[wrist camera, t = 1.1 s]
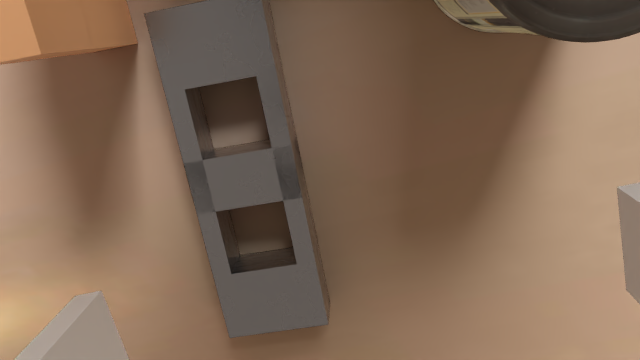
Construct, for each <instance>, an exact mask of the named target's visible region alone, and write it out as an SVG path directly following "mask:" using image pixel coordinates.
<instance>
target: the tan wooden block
mask: <svg viewBox="0 0 640 360" xmlns="http://www.w3.org/2000/svg"><path fill="white" fill-rule="evenodd" d="M133 44H138V42H137V38H136V35H135V31H134V27H133V23H132V20H131V16H130V12H129V9H128V5H127V1H126V0H0V65H1V64H8V63H16V62H24V61H31V60H37V59H45V58H52V57H60V56H68V55H76V54H83V53H91V52H97V51H102V50H107V49H112V48H118V47H123V46H128V45H133Z"/></svg>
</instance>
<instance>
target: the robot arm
mask: <svg viewBox="0 0 640 360" xmlns="http://www.w3.org/2000/svg"><path fill="white" fill-rule="evenodd" d="M617 194H618V205H619V216H620V227H621V238H622V249H623V260H624V271H625V281H626V290H627V291H628V292H629V293H630V294H631V295H632V296H633V297H634V299H635V300H636V301H637V302H638V303H639V304H640V183H635V184H630V185H625V186H620V187H617ZM14 360H129V357H128V355H127V352H126V350H125V348H124V345H123V343H122V340H121V338H120V335H119V333H118V330H117V328H116V325H115V323H114V320H113V318H112V315H111V313H110V310H109V308H108V305H107V303H106V300H105V298H104V296H103V293H102V291H97V292H92V293H87V294H82V295H77V296H74V298H73V299H72V300H71V301H70V302H69V303H68V304H67V305H66V306H65V307H64V308H63V309H62V310H61V311H60V312H59V313H58V314H57V315H56V316H55V317H54V318H53V319H52V320H51V321H50V323H49V324H48V325H47V326H46V327H45V328H44V329H43V330H42V331H41V332H40V333H39V334H38V335H37V336H36V337H35V338H34V339H33V340H32V341H31V342H30V343H29V344H28V345H27V346H26V348H25V349H24V350H23V351H22V352H21V353H20V354H19V355H18V356H17V357H16V358H15V359H14Z"/></svg>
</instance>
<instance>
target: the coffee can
mask: <svg viewBox="0 0 640 360" xmlns="http://www.w3.org/2000/svg"><path fill="white" fill-rule="evenodd" d="M434 2H435V3H436V4H437V6H438V7H439V8H440V9H441V10H442V11H443V12H444V13H445V14H446V15H447V16H448V17H450V18H451V19H453V20H454V21H456V22H457V23H459V24H461V25H463V26H465V27H467V28H470V29H473V30H477V31H482V32H491V33H500V32H509V33H524V34H531V35H542V36H546V37H549V38H553V39H557V40H563V41H571V42H600V41H608V40H615V39H620V38H623V37H627V36H630V35H633V34H636V33H639V32H640V0H434Z"/></svg>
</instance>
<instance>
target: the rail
mask: <svg viewBox="0 0 640 360" xmlns="http://www.w3.org/2000/svg"><path fill="white" fill-rule="evenodd" d="M144 15H145V19H146V23H147V27H148V31H149V34H150V38H151V42H152V46H153V50H154V53H155V57H156V61H157V65H158V69H159V72H160V76H161V80H162V84H163V87H164V91H165V95H166V99H167V103H168V106H169V110H170V114H171V118H172V122H173V125H174V129H175V133H176V137H177V140H178V144H179V148H180V152H181V156H182V159H183V163H184V167H185V171H186V175H187V178H188V182H189V186H190V190H191V194H192V197H193V201H194V205H195V209H196V212H197V216H198V220H199V224H200V228H201V231H202V235H203V239H204V243H205V247H206V250H207V254H208V258H209V262H210V265H211V269H212V273H213V277H214V281H215V284H216V288H217V292H218V296H219V300H220V303H221V307H222V311H223V315H224V318H225V322H226V326H227V330H228V334H229V337H230V338H233V337H240V336H248V335H255V334H262V333H270V332H277V331H284V330H291V329H299V328H306V327H313V326H321V325H328V323H329V310H330V300H329V295H328V290H327V285H326V280H325V275H324V270H323V265H322V260H321V256H320V251H319V246H318V241H317V236H316V231H315V226H314V221H313V216H312V211H311V206H310V201H309V196H308V191H307V187H306V182H305V177H304V172H303V167H302V162H301V157H300V152H299V147H298V142H297V137H296V132H295V127H294V122H293V118H292V113H291V108H290V103H289V98H288V93H287V88H286V83H285V78H284V73H283V68H282V63H281V58H280V53H279V49H278V44H277V39H276V34H275V29H274V24H273V19H272V14H271V9H270V4H269V0H207V1H202V2H197V3H193V4H188V5H183V6H178V7H173V8H168V9H163V10H158V11H153V12H149V13H144ZM254 76H256V78H257V82H258V87H259V92H260V96H261V101H262V105H263V110H264V115H265V119H266V124H267V128H268V133H269V138H270V140H264V141H258V142H253V143H247V144H241V145H236V146H230V147H224V148H218V149H214V148H213V144H212V139H211V135H210V131H209V127H208V123H207V119H206V115H205V111H204V107H203V103H202V99H201V95H200V91H199V87H201V86H206V85H212V84H217V83H222V82H228V81H233V80H238V79H244V78H249V77H254ZM278 201H283V202H284V207H285V212H286V216H287V221H288V225H289V230H290V235H291V239H292V244H293V247H292V248H286V249H279V250H273V251H266V252H260V253H253V254H247V255H240V253H239V249H238V245H237V241H236V237H235V233H234V229H233V225H232V221H231V217H230V212H229V209H235V208H241V207H248V206H254V205H260V204H266V203H272V202H278Z"/></svg>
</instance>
